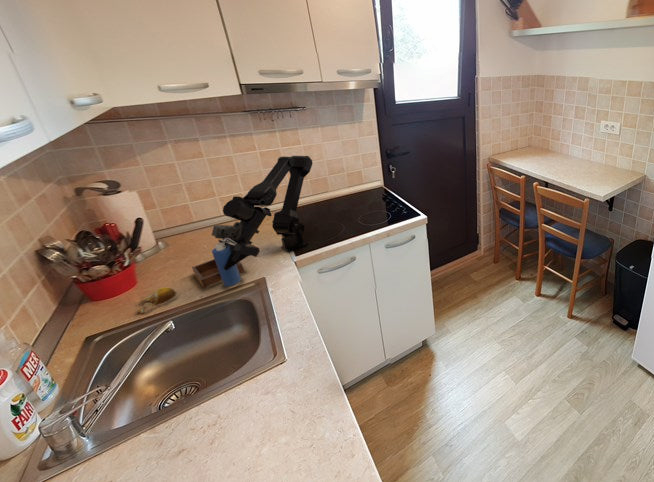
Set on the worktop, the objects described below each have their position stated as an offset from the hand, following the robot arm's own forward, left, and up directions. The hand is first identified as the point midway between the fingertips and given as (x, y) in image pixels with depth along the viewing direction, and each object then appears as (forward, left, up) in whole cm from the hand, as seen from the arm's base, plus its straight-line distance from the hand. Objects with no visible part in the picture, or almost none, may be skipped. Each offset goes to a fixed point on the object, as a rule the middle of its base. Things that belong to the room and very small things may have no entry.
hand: (221, 267), depth 107 cm
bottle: (-1, 0, -7) cm, 7 cm away
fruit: (+17, -9, -8) cm, 21 cm away
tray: (0, -10, -8) cm, 13 cm away
